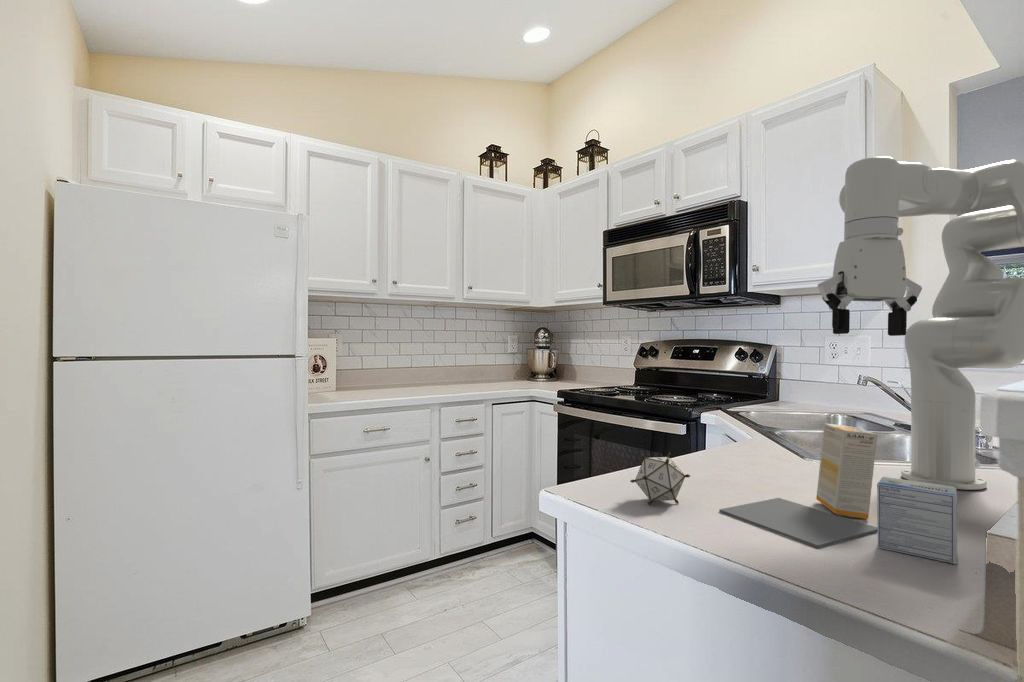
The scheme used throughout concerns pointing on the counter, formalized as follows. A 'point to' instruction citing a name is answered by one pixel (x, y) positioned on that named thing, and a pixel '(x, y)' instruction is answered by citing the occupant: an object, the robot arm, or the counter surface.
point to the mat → (800, 522)
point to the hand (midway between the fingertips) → (868, 334)
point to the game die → (659, 478)
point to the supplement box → (846, 470)
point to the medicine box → (917, 518)
